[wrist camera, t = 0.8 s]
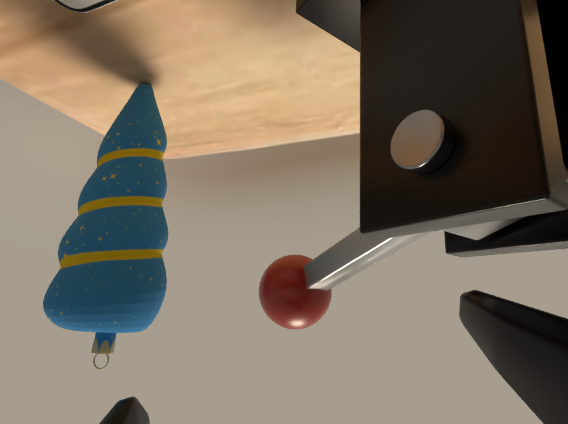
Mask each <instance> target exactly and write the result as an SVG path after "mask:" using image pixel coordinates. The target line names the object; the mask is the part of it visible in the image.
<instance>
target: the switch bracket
mask: <svg viewBox="0 0 568 424" xmlns="http://www.w3.org/2000/svg"><path fill="white" fill-rule="evenodd" d="M296 13H297V14H299V15H300V16H302V17H304V18H305V19H307V20H309V21H310V22H312V23H313V24H315V25H317V26H318V27H320V28H321V29H323V30H325V31H326V32H328V33H330V34H331V35H333V36H334V37H336V38H338V39H339V40H341V41H342V42H344V43H346V44H347V45H349V46H351V47H352V48H354V49H355V50H357V51H359V52H360V233H361V234H365V235H369V236H373V237H378V238H382V239H387V238H393V237H399V236H405V235H412V234H418V233H424V232H430V231H437V230H443V229H449V228H455V227H462V226H468V225H474V224H480V223H486V222H493V221H499V220H505V219H511V218H518V217H524V216H526V217H524V218H522V219H520V220H518V221H516V222H514V223H512V224H510V225H508V226H506V227H504V228H502V229H500V230H498V231H495V232H493V233H491V234H489V235H487V236H485V237H483V238H481V239H479V240H474V239H471V238H467V237H464V236H460V235H457V234H453V233H450V232H446V231H444V232H445V248H446V253H447V254H451V255H455V256H459V257H472V256H484V255H496V254H507V253H518V252H531V251H542V250H554V249H565V248H568V187H567V181H566V175H565V169H564V165H565V167H566V168H567V169H568V0H297V1H296Z"/></svg>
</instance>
